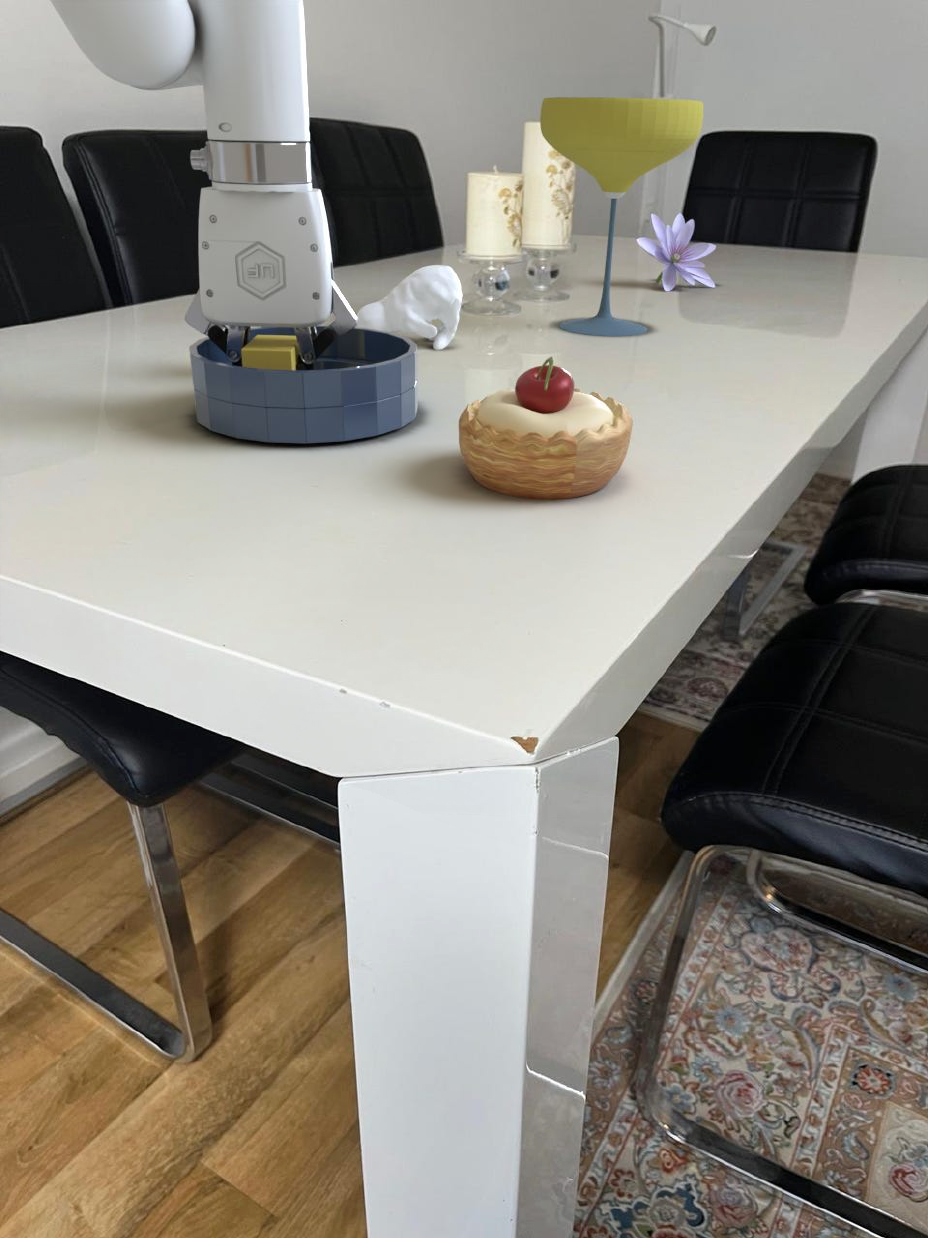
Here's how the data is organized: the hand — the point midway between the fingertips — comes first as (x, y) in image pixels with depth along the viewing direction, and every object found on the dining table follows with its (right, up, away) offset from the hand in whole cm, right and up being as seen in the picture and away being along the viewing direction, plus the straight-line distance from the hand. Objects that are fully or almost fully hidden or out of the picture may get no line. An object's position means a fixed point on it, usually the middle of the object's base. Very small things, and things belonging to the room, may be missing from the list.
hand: (277, 405), depth 81 cm
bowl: (+3, -1, 0) cm, 3 cm away
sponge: (0, 0, 0) cm, 0 cm away
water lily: (+49, +34, +70) cm, 92 cm away
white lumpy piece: (+10, +12, +27) cm, 31 cm away
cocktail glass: (+33, +18, +38) cm, 53 cm away
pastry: (+21, -8, -13) cm, 26 cm away
